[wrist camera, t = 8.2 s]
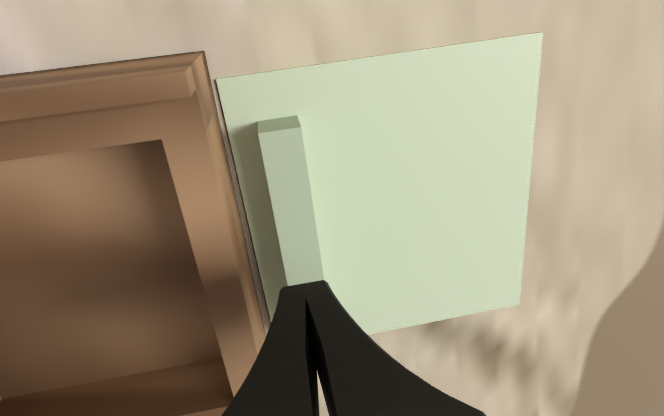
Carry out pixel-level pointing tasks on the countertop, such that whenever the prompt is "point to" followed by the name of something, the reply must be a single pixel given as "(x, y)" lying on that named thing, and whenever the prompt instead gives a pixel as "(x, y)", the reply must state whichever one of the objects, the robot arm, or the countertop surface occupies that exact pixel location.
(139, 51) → the countertop surface
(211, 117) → the box
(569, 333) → the countertop surface
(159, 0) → the countertop surface
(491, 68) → the lid
